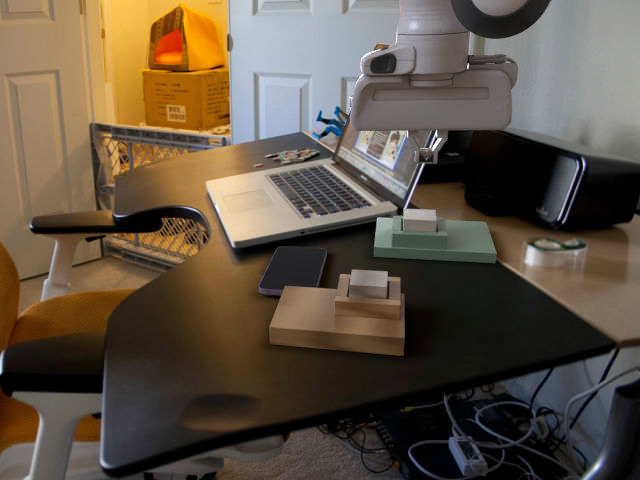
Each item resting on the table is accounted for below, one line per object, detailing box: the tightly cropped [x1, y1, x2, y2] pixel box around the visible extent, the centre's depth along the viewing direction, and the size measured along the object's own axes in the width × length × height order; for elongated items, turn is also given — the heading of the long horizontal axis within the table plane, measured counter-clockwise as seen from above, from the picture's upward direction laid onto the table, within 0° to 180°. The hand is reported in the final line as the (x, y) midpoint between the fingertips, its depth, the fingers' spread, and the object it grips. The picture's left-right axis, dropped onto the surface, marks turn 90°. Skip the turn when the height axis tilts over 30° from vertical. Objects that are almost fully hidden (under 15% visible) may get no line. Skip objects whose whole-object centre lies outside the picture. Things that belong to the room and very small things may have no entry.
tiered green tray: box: [373, 215, 498, 264], centre depth 91 cm, size 16×12×4 cm
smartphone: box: [258, 245, 328, 297], centre depth 84 cm, size 7×1×15 cm
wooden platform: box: [268, 273, 406, 357], centre depth 71 cm, size 14×10×4 cm
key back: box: [402, 208, 438, 232], centre depth 89 cm, size 4×4×2 cm
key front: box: [349, 269, 389, 299], centre depth 71 cm, size 4×4×2 cm
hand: (425, 162), depth 85 cm, fingers closed
